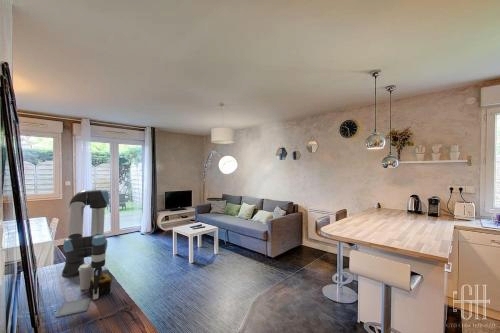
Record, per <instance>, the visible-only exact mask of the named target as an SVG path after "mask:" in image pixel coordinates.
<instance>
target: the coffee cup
mask: <svg viewBox="0 0 500 333" xmlns="http://www.w3.org/2000/svg"><path fill="white" fill-rule="evenodd" d="M94 270H95V268H92V267H91V262H86V263H85V264H83V265H81V266H80V267H79V269H78V271H79V275H78V276H79V289H80V290H81V291H83V290H84V291H85V290H89V287H90V278H92V277H94Z"/></svg>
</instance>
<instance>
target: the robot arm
mask: <svg viewBox="0 0 500 333" xmlns="http://www.w3.org/2000/svg"><path fill="white" fill-rule="evenodd" d="M108 205H110V196H109V191H108V190H106V189H84V190H81V191H79V192H77V193H76V194H74V195H73V197H72V198H71V199H70V200H69V204H68V207H69V209H70V214H69V225H68V226H69V227H68V234H67V235H68V238H65V239H64V240H63V251H64V252H65V257H64V258H65V262H64V266H63V269H62V271H61V276H62V277H64V278H71V277H77V276H79V271H78V269H79V267H80V266H81V265H83V264H86V263H85V258H91V261H90V263H91V267H92V268H94V275H93V277H94V283H93V288H92V289H93V299H92V300H97V299H99V298H98V294H99V287H98V286H99V277H100V276H101V275H103V274H102V273H103V267H105V265H106V253H107V249H108V239H107V236H106V235H105V234H104V229H105V214H106V213H105V210H106V208H107V207H108ZM86 206H89V208H90V210H91V224H90V226H91V227H90V236H89V235H88V236H84V235H83V234H84V232H83V230H84V215H85V214H84V211H85V209H86Z"/></svg>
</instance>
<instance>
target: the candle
mask: <svg viewBox="0 0 500 333" xmlns="http://www.w3.org/2000/svg"><path fill="white" fill-rule="evenodd" d="M93 283H94V276H93V277H92V278H90V287H89V289H88V295H89V297H90V298H91V300H94V299H93V289H92V288H93ZM98 287H99V294H98V299H99V298H102V297H104V296H105V297H107V296H109V295H110V294H111V287H112V278H111V277H110V275H109V274H108V273H105V274H102V275H101V276H100V277H99V286H98Z"/></svg>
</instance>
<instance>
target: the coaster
mask: <svg viewBox="0 0 500 333" xmlns="http://www.w3.org/2000/svg"><path fill="white" fill-rule="evenodd" d="M91 300H92V297H86V298H81V299H76V300H72V301H71V300H70V301H66V302H62V304H61V306H60V307H59V309H58V311H57V313H56V315H55V316H54V318H56V319H57V318H62V317H65V316H71V315H77V314H80V313H85V312H86V313H87V311H88V308H89V306H90V302H91Z"/></svg>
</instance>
